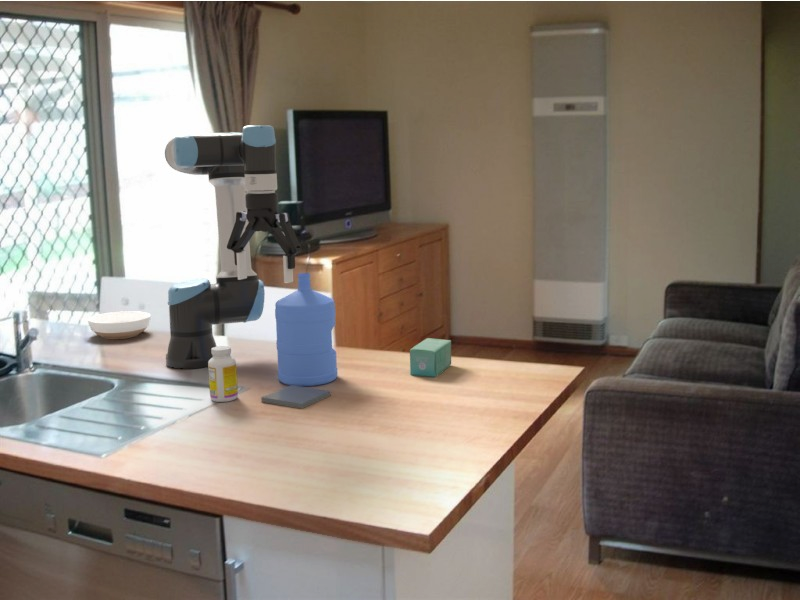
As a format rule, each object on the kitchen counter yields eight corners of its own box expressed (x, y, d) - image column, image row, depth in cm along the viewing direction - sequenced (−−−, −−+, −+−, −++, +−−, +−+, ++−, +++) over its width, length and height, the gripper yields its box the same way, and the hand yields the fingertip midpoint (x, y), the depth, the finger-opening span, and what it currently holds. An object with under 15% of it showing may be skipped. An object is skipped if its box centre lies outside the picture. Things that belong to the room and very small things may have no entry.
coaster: (261, 401, 219) (261, 397, 218) (291, 389, 229) (291, 384, 229) (301, 408, 213) (301, 403, 213) (330, 395, 223) (330, 390, 223)
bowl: (78, 341, 288) (76, 322, 287) (107, 328, 307) (105, 310, 306) (135, 342, 285) (134, 323, 283) (161, 329, 304) (160, 311, 302)
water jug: (305, 390, 227) (301, 281, 222) (265, 380, 238) (260, 275, 233) (350, 377, 239) (346, 273, 234) (310, 368, 249) (306, 267, 244)
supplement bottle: (241, 395, 225) (238, 344, 222) (233, 403, 218) (230, 351, 216) (214, 394, 225) (211, 344, 223) (206, 402, 219) (203, 351, 217)
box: (409, 375, 240) (409, 348, 239) (426, 363, 252) (426, 337, 251) (435, 378, 237) (435, 350, 236) (451, 365, 250) (451, 339, 248)
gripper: (209, 192, 216) (214, 279, 220) (296, 194, 204) (299, 286, 208) (229, 189, 222) (233, 275, 226) (314, 191, 211) (317, 281, 215)
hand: (265, 280), depth 217 cm, fingers open, 13 cm apart
